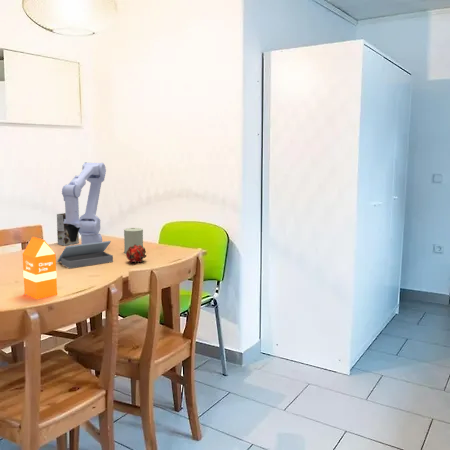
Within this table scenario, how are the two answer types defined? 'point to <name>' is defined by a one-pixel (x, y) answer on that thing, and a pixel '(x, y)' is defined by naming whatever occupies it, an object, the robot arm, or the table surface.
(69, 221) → the robot arm
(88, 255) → the grey hinged box
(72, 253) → the lid
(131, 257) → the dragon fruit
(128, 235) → the can
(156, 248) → the table surface
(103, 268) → the table surface
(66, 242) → the coffee box
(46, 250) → the orange juice
